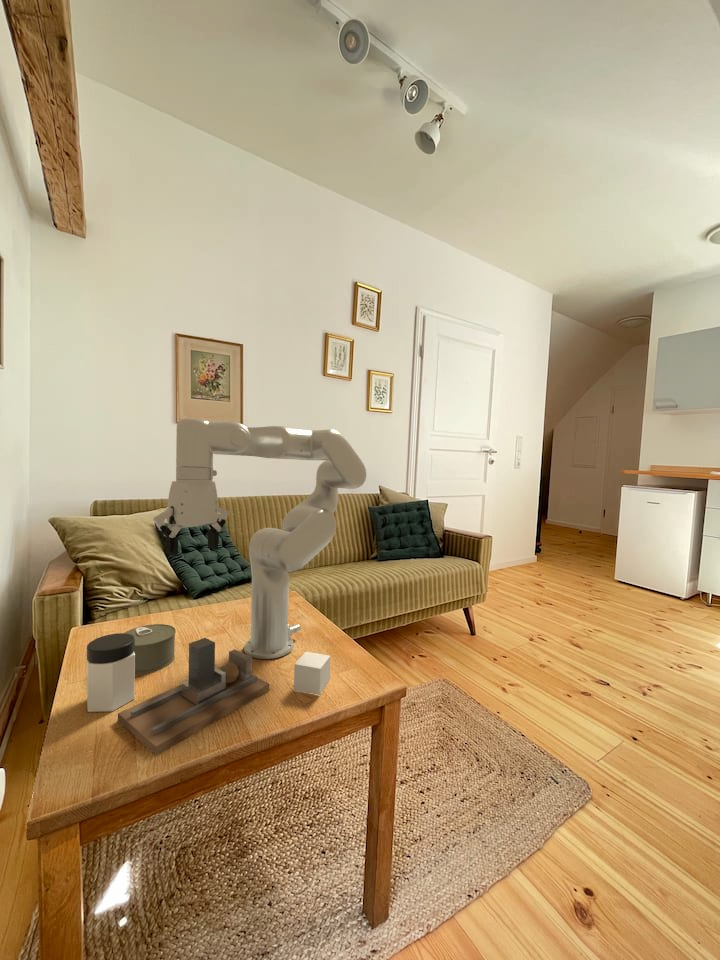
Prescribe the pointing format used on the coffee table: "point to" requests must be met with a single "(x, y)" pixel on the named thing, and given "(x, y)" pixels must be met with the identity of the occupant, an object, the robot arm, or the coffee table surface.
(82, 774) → the coffee table surface
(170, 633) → the can
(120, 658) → the jar
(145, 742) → the board
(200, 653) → the handle
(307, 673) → the white cube
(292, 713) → the coffee table surface
